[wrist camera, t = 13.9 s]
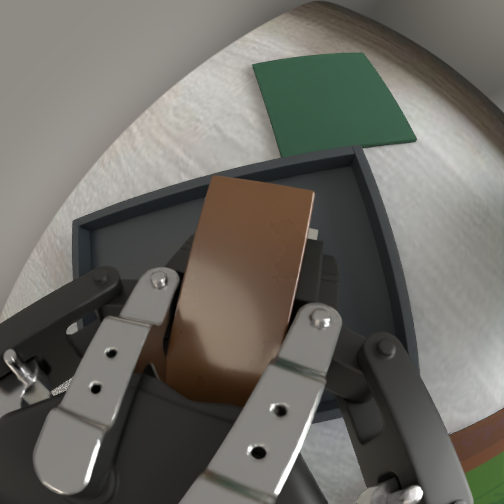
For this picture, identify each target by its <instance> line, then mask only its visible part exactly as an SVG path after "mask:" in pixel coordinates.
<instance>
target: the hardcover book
mask: <svg viewBox="0 0 504 504" xmlns="http://www.w3.org/2000/svg"><path fill="white" fill-rule="evenodd" d="M449 437H450V439H451V442H452V444H453V446H454V449H455V451H456V453H457V456H458V458H459V461H460V463H461V466H462V469H463V471H464V474H465V476H466V479H467V482H468V485H469V488H470V491H471V494H472V497H473V504H504V408H503V409H501V410H500V411H498V412H496V413H494V414H493V415H491V416H489V417H487V418H485V419H483V420H481V421H479V422H477V423H475V424H473V425H471V426H469V427H467V428H464V429H462V430H460V431H458V432H455V433H453V434H451V435H449Z"/></svg>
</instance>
